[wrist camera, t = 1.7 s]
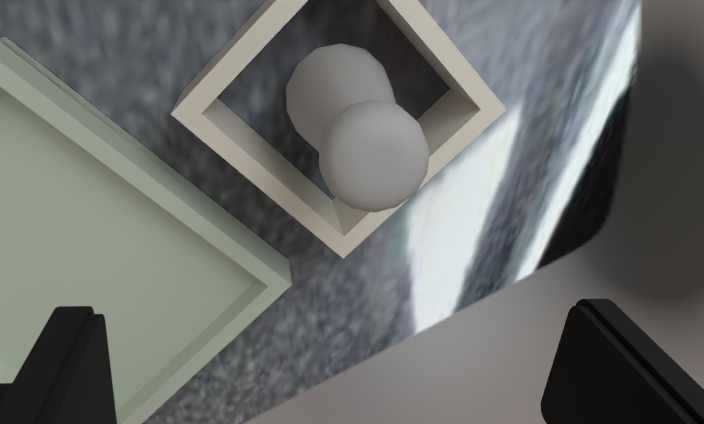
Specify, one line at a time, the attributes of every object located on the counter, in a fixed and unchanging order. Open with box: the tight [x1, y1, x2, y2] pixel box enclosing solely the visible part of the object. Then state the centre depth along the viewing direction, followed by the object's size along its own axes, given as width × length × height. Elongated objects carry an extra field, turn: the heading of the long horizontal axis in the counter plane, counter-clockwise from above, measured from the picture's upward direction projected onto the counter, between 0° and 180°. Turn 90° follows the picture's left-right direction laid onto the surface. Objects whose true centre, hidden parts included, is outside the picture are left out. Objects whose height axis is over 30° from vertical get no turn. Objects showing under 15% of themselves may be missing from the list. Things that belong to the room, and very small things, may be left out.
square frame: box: [171, 0, 506, 258], centre depth 29 cm, size 12×12×5 cm
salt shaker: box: [286, 43, 430, 213], centre depth 26 cm, size 6×6×13 cm
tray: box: [0, 37, 292, 424], centre depth 32 cm, size 18×20×3 cm
